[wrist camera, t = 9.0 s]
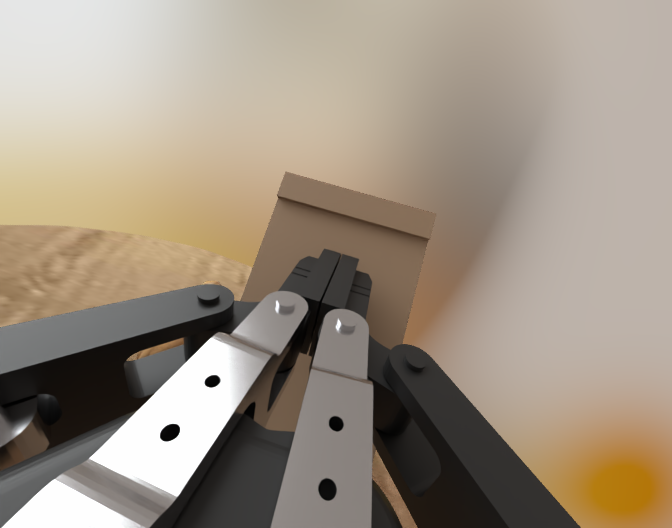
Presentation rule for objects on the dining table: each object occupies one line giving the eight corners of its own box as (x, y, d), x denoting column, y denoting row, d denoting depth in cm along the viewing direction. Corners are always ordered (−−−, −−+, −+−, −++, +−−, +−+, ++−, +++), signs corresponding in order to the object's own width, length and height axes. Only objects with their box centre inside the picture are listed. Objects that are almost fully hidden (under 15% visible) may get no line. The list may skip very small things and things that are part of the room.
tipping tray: (345, 639, 10) (447, 216, 12) (128, 555, 10) (275, 168, 13) (341, 458, 22) (392, 269, 25) (245, 425, 23) (306, 244, 26)
